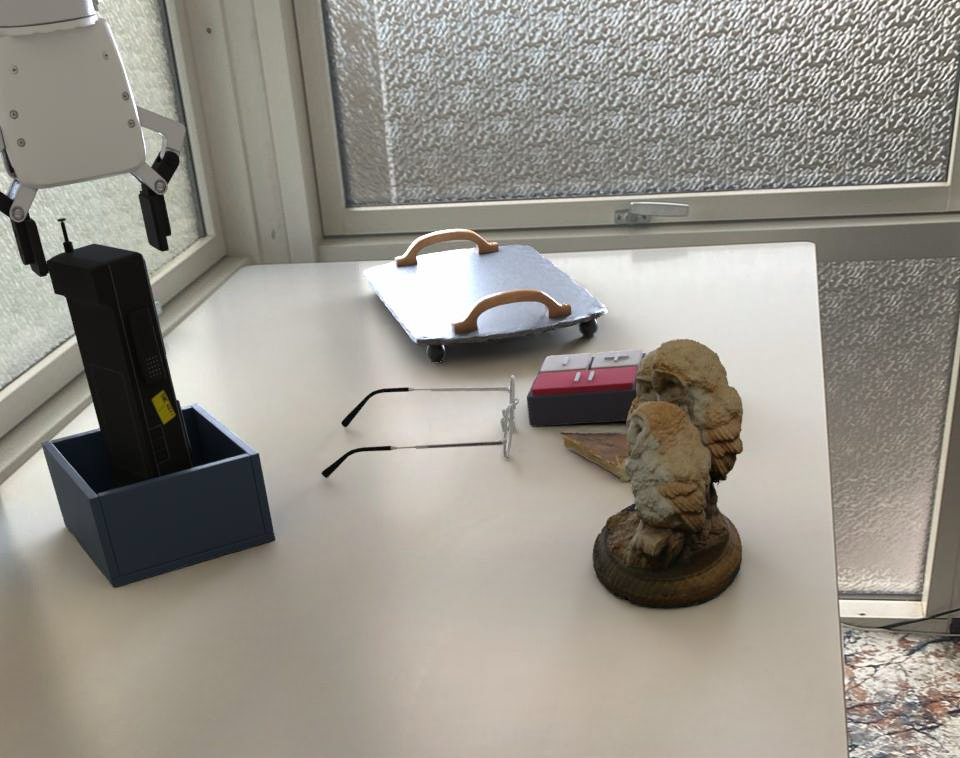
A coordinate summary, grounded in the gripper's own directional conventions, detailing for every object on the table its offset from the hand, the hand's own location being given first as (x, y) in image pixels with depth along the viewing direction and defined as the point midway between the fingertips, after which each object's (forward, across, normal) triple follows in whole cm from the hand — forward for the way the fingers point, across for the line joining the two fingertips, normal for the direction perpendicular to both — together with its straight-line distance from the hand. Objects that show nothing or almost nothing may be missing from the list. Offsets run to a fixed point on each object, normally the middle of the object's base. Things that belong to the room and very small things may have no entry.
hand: (100, 260), depth 105 cm
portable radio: (+22, 0, 0) cm, 22 cm away
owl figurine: (+23, -32, +32) cm, 50 cm away
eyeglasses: (+23, -28, -2) cm, 36 cm away
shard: (+23, -39, +13) cm, 47 cm away
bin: (+23, 0, 0) cm, 23 cm away
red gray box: (+23, -47, 0) cm, 52 cm away
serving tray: (+23, -53, -38) cm, 69 cm away
